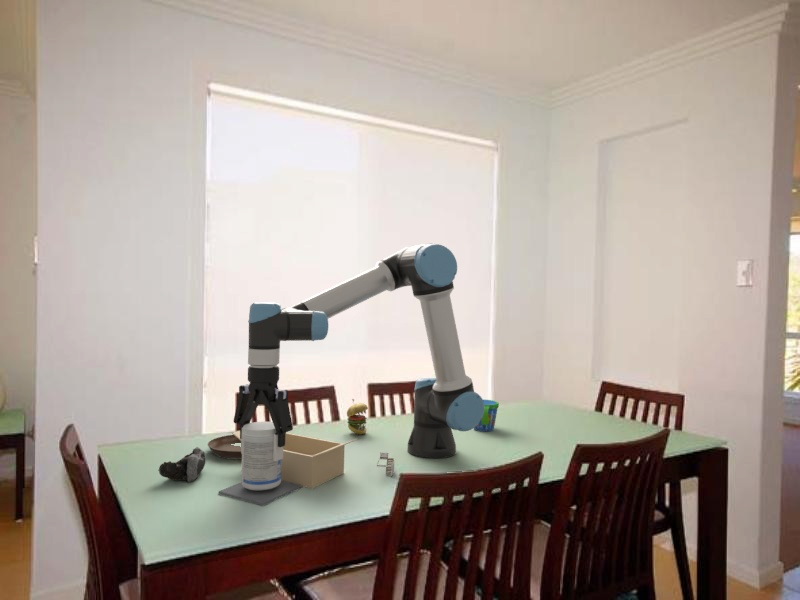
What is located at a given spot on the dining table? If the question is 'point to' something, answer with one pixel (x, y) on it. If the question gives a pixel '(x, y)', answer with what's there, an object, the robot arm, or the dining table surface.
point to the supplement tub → (259, 457)
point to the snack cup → (488, 416)
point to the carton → (310, 460)
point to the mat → (260, 493)
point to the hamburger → (357, 418)
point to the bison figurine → (184, 467)
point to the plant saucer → (226, 447)
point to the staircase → (385, 457)
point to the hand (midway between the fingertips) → (261, 456)
